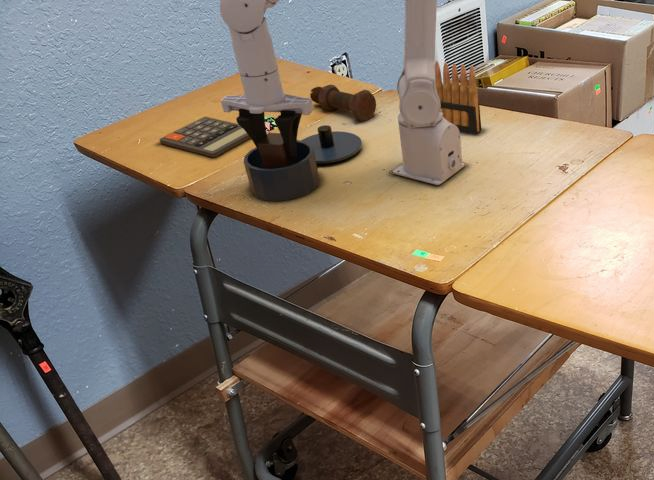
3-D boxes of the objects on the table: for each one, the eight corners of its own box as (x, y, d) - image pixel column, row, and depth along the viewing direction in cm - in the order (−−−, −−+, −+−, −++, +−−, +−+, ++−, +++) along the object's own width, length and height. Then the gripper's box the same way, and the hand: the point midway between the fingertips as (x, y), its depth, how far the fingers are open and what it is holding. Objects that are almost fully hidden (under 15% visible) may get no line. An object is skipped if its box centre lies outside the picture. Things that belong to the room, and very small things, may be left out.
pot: (333, 177, 119) (327, 147, 116) (286, 207, 112) (278, 176, 109) (285, 164, 124) (278, 134, 121) (237, 191, 117) (229, 161, 114)
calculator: (204, 115, 141) (258, 128, 135) (205, 120, 142) (259, 132, 135) (158, 138, 134) (212, 152, 127) (159, 143, 135) (214, 157, 128)
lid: (376, 144, 128) (372, 121, 125) (331, 172, 121) (326, 148, 118) (325, 132, 134) (321, 109, 131) (280, 158, 126) (274, 134, 123)
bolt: (321, 111, 146) (372, 124, 138) (303, 106, 142) (354, 119, 134) (327, 82, 145) (379, 93, 137) (308, 76, 141) (360, 87, 133)
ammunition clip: (481, 130, 129) (479, 64, 122) (477, 134, 128) (473, 67, 121) (431, 122, 134) (426, 57, 126) (426, 126, 133) (420, 61, 125)
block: (297, 157, 117) (292, 133, 114) (287, 169, 114) (281, 144, 111) (274, 156, 118) (268, 132, 115) (263, 168, 115) (257, 143, 112)
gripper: (202, 78, 105) (226, 163, 113) (292, 81, 102) (310, 168, 110) (225, 62, 110) (246, 144, 119) (311, 64, 107) (327, 148, 115)
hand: (278, 154), depth 115 cm, fingers closed on block, 4 cm apart
